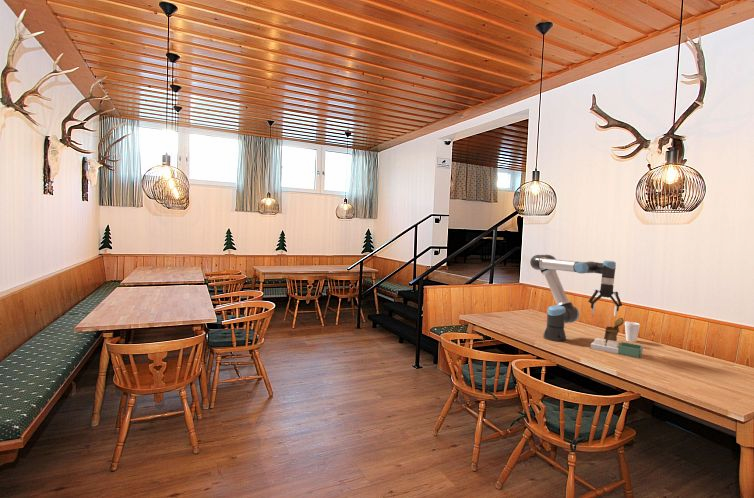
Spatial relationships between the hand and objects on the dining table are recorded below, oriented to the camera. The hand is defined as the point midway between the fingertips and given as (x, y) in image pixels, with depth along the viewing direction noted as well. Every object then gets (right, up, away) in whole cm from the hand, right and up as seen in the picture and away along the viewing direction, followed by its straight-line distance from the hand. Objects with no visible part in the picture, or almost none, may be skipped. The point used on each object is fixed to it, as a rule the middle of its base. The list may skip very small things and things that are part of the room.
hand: (603, 314), depth 277 cm
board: (-2, -22, -5) cm, 23 cm away
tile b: (+2, -20, -8) cm, 21 cm away
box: (+9, -23, -14) cm, 29 cm away
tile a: (-4, -19, -3) cm, 20 cm away
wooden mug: (+13, -22, +12) cm, 28 cm away
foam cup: (+32, -23, +21) cm, 44 cm away
